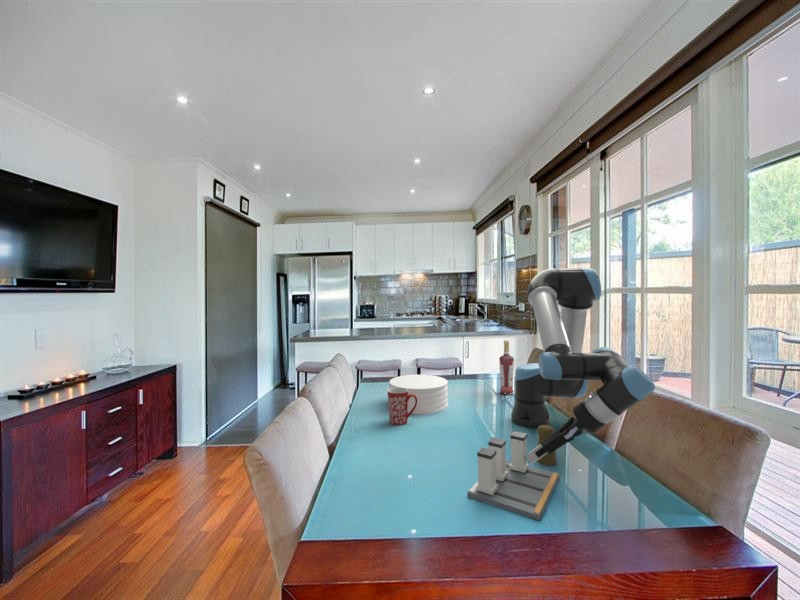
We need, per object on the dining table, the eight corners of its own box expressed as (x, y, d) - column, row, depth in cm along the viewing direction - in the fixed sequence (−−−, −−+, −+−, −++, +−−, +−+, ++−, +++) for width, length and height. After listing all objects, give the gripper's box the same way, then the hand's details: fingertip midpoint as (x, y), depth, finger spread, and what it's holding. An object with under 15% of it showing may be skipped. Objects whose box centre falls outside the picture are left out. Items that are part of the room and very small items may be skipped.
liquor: (513, 396, 184) (513, 341, 183) (499, 394, 186) (498, 341, 186) (514, 392, 190) (513, 340, 190) (500, 391, 193) (499, 339, 193)
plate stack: (391, 396, 186) (391, 374, 186) (445, 396, 185) (444, 374, 185) (387, 414, 158) (387, 388, 158) (451, 414, 157) (450, 388, 157)
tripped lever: (528, 467, 105) (528, 433, 105) (524, 472, 102) (524, 438, 102) (513, 463, 107) (513, 430, 107) (509, 468, 104) (509, 435, 104)
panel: (559, 478, 102) (559, 473, 102) (539, 520, 83) (539, 514, 83) (497, 461, 112) (497, 457, 112) (467, 496, 93) (467, 491, 93)
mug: (384, 425, 145) (384, 392, 144) (390, 417, 153) (389, 386, 153) (415, 427, 142) (415, 393, 142) (419, 419, 151) (418, 387, 150)
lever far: (497, 488, 94) (497, 450, 94) (492, 495, 91) (492, 456, 90) (482, 483, 96) (481, 446, 96) (476, 489, 93) (475, 452, 93)
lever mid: (507, 475, 100) (507, 440, 100) (502, 481, 97) (502, 445, 97) (492, 471, 103) (492, 437, 103) (487, 476, 100) (487, 441, 100)
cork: (555, 458, 114) (555, 424, 114) (557, 466, 108) (557, 430, 108) (535, 455, 116) (535, 422, 116) (536, 463, 110) (536, 428, 110)
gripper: (586, 394, 100) (526, 440, 110) (579, 407, 89) (513, 456, 99) (608, 416, 97) (544, 461, 107) (604, 432, 86) (533, 481, 96)
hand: (529, 459), depth 103 cm, fingers closed
